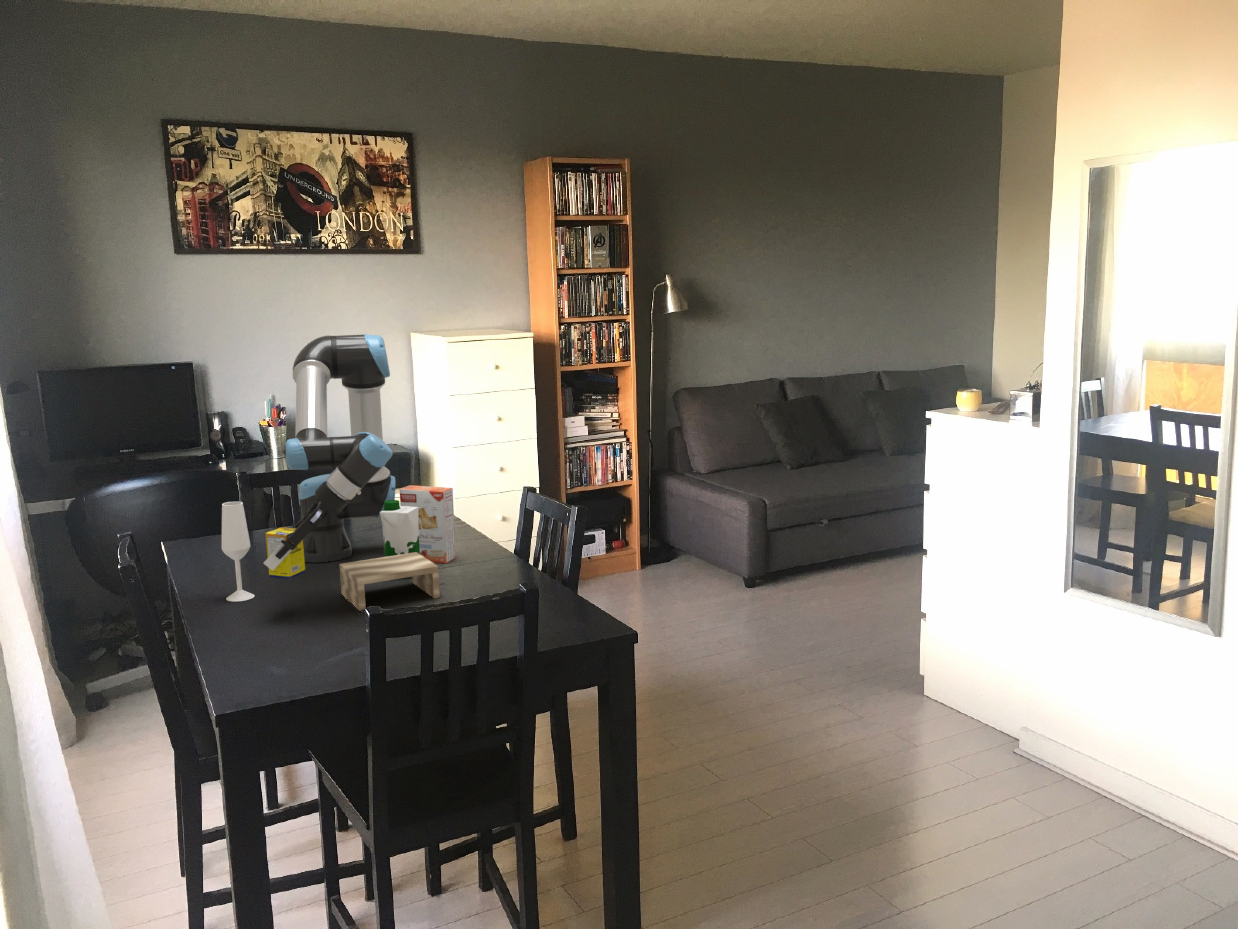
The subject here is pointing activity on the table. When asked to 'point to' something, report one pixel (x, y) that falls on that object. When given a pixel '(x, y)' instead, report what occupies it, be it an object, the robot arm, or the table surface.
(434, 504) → the cracker box
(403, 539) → the milk carton
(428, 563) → the oak shelf
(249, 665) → the table surface
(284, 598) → the table surface
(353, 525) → the table surface
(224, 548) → the champagne flute
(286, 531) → the supplement box
